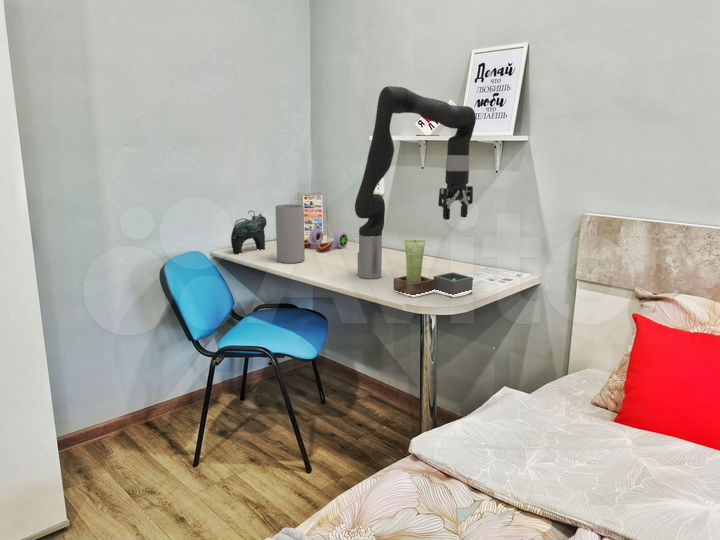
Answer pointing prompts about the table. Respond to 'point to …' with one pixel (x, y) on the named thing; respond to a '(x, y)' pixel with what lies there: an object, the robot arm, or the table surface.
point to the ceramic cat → (248, 233)
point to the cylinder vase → (290, 233)
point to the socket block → (453, 283)
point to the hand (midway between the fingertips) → (455, 218)
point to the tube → (414, 259)
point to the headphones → (317, 238)
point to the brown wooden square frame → (413, 285)
